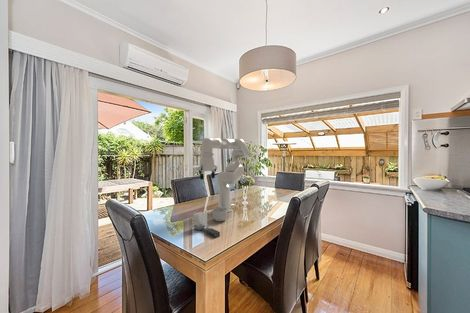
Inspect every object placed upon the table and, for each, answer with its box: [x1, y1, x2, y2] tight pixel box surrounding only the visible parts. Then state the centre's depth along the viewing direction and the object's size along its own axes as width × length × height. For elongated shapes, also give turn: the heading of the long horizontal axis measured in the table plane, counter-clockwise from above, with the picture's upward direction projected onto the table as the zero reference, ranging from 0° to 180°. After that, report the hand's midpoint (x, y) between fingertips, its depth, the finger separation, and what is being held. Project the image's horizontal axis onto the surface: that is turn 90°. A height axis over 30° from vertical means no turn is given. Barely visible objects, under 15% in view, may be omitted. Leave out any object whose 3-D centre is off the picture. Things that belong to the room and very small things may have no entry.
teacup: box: [211, 206, 228, 222], centre depth 145 cm, size 14×11×8 cm
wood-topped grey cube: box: [193, 211, 208, 227], centre depth 128 cm, size 6×6×7 cm
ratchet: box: [193, 224, 221, 239], centre depth 123 cm, size 21×8×6 cm, turn 42°
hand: (207, 178), depth 149 cm, fingers open, 9 cm apart
